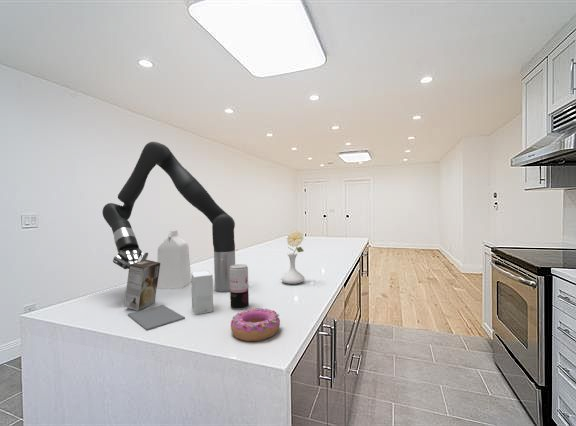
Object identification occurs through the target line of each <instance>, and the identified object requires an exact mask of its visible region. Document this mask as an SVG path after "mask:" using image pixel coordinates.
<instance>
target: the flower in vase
mask: <svg viewBox="0 0 576 426" xmlns="http://www.w3.org/2000/svg"><path fill="white" fill-rule="evenodd" d="M303 241H304V237H303V232H301V231H299V230H295V231H292V232H290V233H289V234H288V235H287V238H286V242H287V245H288V246H287V247H288V249H290V250H291V251H293V252H289V253H287V257H288V258H289V264H290V265H289V267H290V268H289V269H288V271H287V272H285V273H284V274H283V275H282V276H281V279H280V280H281V282H282V283H285V284H290V285H292V284H300V283H303V282H304V281H305V280H306V278H305V276H304V275H303V273H300V272H299V271H298V270H297V268H296V258H297V256H298V253H302V252H304V249H303V247H302V246H299V245H301V244H302V243H303ZM289 246H291V247H294V248H295V247H296V248H295V249H292V248H290V247H289ZM298 246H299V247H298ZM296 251H297V253H296Z"/></svg>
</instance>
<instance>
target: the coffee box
mask: <svg viewBox="0 0 576 426" xmlns="http://www.w3.org/2000/svg"><path fill="white" fill-rule="evenodd" d="M159 269H160V263H159V262H157V261H153V260H150V259H146V260H144V261H141V260H140V261H138V262H136V263H133V264H130V266H129V269H128V273H127V275H128V276H127V282H126V290H125V296H124V297H125V298H124V303H123V308H127V309H130V310H133V311H134V310H135V311H136V312H137V311H141V310H144V309H146V307H148V306H150V305H152V304H154V303H156V297H157V290H158V289H157V283H158V276H159Z"/></svg>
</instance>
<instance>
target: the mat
mask: <svg viewBox="0 0 576 426" xmlns="http://www.w3.org/2000/svg"><path fill="white" fill-rule="evenodd" d="M127 316H128V317H129V318H130V319H131V320H133V321H134V322H135V323H136V324H138V325H139V326H140V327H142V328H143V329H144V330H145V331H150V330H152V329H153V330H154V329H157V328H159V327H164V326H166V325H169V324H173V323H176V322H179V321H182V320H185V319H186V317H185V316H184V315H182V314H180V313H179V312H176V311H175V310H173V309H171V308H170V307H168V306H166V305H164V304H161V305H158V306H154V307H150V308H144V309H141V310H139V311H137V310H136V311H134V312H130V313H129V312H128V313H127Z"/></svg>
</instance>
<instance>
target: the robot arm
mask: <svg viewBox="0 0 576 426" xmlns="http://www.w3.org/2000/svg"><path fill="white" fill-rule="evenodd" d="M155 166H158V167H159V168H161V169H162V171H164V172H165V174H166V175H168V176H169V177H170V179H171V181H172V183H173V185H174V187H175V189H176V190H177V191H178V192H179V194H180V195H181V196H182V197H183V198H184V199H185V200H186V201H187V202H188V203H189V204H190V205H192V206H193V207H194V208H195V209H196V210H198V211H199V212H201V214H203V215H204V216H205V217H206V218H207V219H208V221H209V222H210V223H211V225H212V226H211V229H212V232H211V233H212V246H213V266H214V267H213V269H214V291H216V292H219V293H220V292H221V293H225V292H226V293H227V292H230V266H232V265H236V243H235V227H236V223H235V219H234V218H233V217H232V216H231V215H229V214H228V213H227V212H226V211H225V210H224V209H223V208H222V207H220V206H219V204H217V202H216V201H215V200H214V199H213V197H212V196H211V195H210V193H209V192H208V191H207V190H206V188H205V187H204V186H203V185H202V184H201V183H200V182H199V181H198V179H196V177H194V176H193V174H191V173H190V171H188V170H187V169H186V168H185V167H184V166H183V165H182V164H181V163H180V162H179V160H178V159H177V158H176V156H175V155H174V154H173V152H172V151H171V149H170V148H169V147H167V146H166V145H165V144H163V143H161V142H157V141H149V142H148V143H146V144H145V145H144V147H143V149H142V150H141V153H140V155H139V158H138V159H137V162H136V164H135V167H134V168H133V171H132V173H131V175H130V176H129V178H128V179H127V181H126V182H125V184H124V185H123V187H122V188H121V190H120V192H119V193H118V194H117V199H118V200H119V201H120V202H122V203H123V205H121V204H117V203H113V202H110V203H107V204H105V205H104V206H103V208H102V217H103V219H104V220H105V222H106V223H107V225H109V227H110V228H111V230H112V234H113V239H114V244H115V247H116V250H117V255H116V256H114V257H113V259H112V263H114V264H115V265H117V266H119V267H120V268H122V269H123V270H129V266H130V264H133V263H136V262H139V259H140V257H141V259H140V261H144V260H148V256H149V252H142V249H141V248H140V245H139V243H138V241H137V240H138V239H137V237H136V234H135V232H134V231H133V227H132V226H131V225H132V224H131V223H130V221H129V219H130V217H131V215H132V212H133V208H134V205H135V203H136V201H137V199H138V198H139V197H140V195H141V194H142V192H143V190H144V187H145V185H146V182H147V180H148V179H147V178H148V176H149V175H150V173H151V171H153V169H154V167H155Z"/></svg>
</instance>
